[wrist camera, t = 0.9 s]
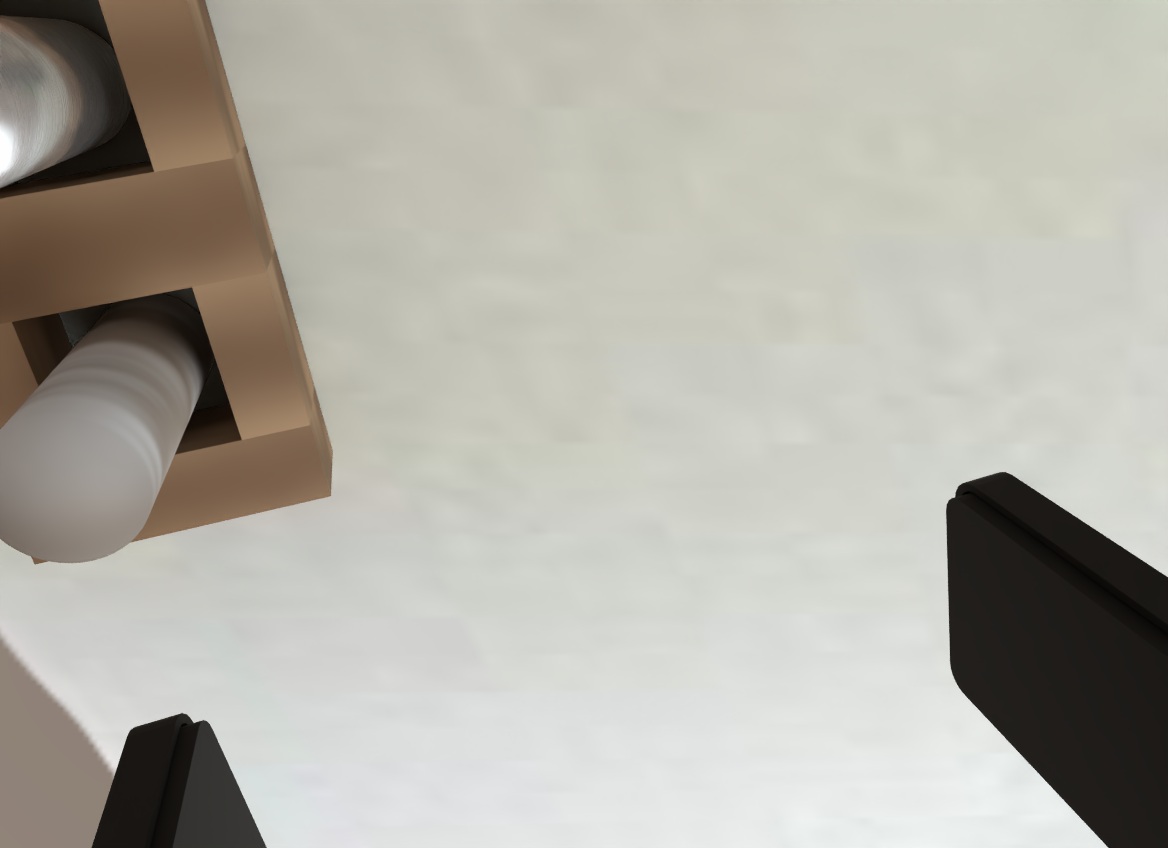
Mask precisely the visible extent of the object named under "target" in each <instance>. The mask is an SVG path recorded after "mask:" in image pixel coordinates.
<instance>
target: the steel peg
mask: <svg viewBox="0 0 1168 848" xmlns="http://www.w3.org/2000/svg"><path fill="white" fill-rule="evenodd" d="M130 107H131V99H130V95H129V92H128V89H127V86H126V83H125V80H124V77H123V74H122V71H121V68H120V65H119V62H118V59H117V56H116V53H115V51H114V50H113V49H112V48H111V47H110V45H109V44H108V43H106V42H105V41H104V40H103V39H102V38H101V37H100V36H98V35H97V34H95V33H94V32H92V31H91V30H89V29H87V28H85V27H83V26H81V25H79V24H76V23H73V22H69V21H65V20H60V19H46V18H32V17H17V16H2V15H0V188H1V187H4V186H6V185H8V184H11V183H13V182H16V181H18V180H20V179H23V178H25V177H27V176H30V175H32V174H34V173H37V172H39V171H41V170H44V169H46V168H48V167H51V166H53V165H55V164H58V163H60V162H62V161H65V160H67V159H69V158H72V157H74V156H77V155H79V154H81V153H84V152H86V151H88V150H91V149H93V148H95V147H98V146H100V145H102V144H104V143H106V142H107V141H109V140H110V139H112V138H113V137H114V136H115V135H116V134H117V133H118V132H119V131H120V130H121V128H122V127H123V125H124V124H125V122H126V120H127V118H128V115H129V111H130Z"/></svg>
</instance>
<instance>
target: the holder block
mask: <svg viewBox="0 0 1168 848" xmlns="http://www.w3.org/2000/svg"><path fill="white" fill-rule="evenodd" d="M99 3H100V6H101V10H102V13H103V16H104V19H105V22H106V25H107V28H108V31H109V34H110V37H111V40H112V43H113V46H114V49H115V53H116V56H117V59H118V62H119V65H120V68H121V71H122V74H123V77H124V80H125V83H126V86H127V89H128V92H129V95H130V99H131V102H132V105H133V108H134V111H135V114H136V117H137V120H138V123H139V126H140V129H141V132H142V135H143V138H144V141H145V145H146V148H147V151H148V154H149V157H150V160H151V161H149V162H143V163H137V164H131V165H126V166H120V167H114V168H108V169H102V170H97V171H91V172H85V173H79V174H73V175H68V176H62V177H56V178H50V179H44V180H39V181H33V182H27V183H21V184H15V185H9V186H8V185H6V186H4V187H1V188H0V539H1V540H2V541H4V542H5V543H6V544H8V545H9V546H11V547H13V548H14V549H16V550H18V551H20V552H22V553H24V554H26V555H29V556H31V557H32V559H33V562H34V564H39V563H43V562H47V561H51V562H58V563H80V562H87V561H93V560H97V559H100V558H103V557H106V556H108V555H111V554H113V553H115V552H117V551H118V550H120V549H122V548H123V547H125V546H126V545H127V544H129V543H130V542H134V541H138V540H143V539H147V538H151V537H156V536H160V535H164V534H169V533H173V532H177V531H182V530H186V529H190V528H195V527H199V526H203V525H208V524H212V523H216V522H221V521H225V520H229V519H234V518H238V517H242V516H247V515H251V514H255V513H260V512H264V511H268V510H273V509H277V508H281V507H286V506H290V505H294V504H299V503H303V502H307V501H312V500H316V499H320V498H325V497H329V496H331V478H332V455H333V451H332V447H331V444H330V440H329V437H328V433H327V430H326V426H325V423H324V419H323V416H322V412H321V408H320V405H319V401H318V398H317V394H316V391H315V387H314V384H313V380H312V377H311V373H310V370H309V366H308V363H307V359H306V356H305V352H304V348H303V345H302V341H301V338H300V334H299V331H298V327H297V324H296V320H295V317H294V313H293V310H292V306H291V303H290V299H289V296H288V292H287V288H286V285H285V281H284V278H283V274H282V271H281V267H280V264H279V260H278V257H277V253H276V250H275V246H274V243H273V239H272V236H271V232H270V228H269V225H268V221H267V218H266V214H265V211H264V207H263V204H262V200H261V197H260V193H259V190H258V186H257V183H256V179H255V176H254V172H253V168H252V165H251V161H250V158H249V154H248V151H247V147H246V144H245V140H244V137H243V133H242V130H241V126H240V123H239V119H238V116H237V112H236V108H235V105H234V101H233V98H232V94H231V91H230V87H229V84H228V80H227V77H226V73H225V70H224V66H223V63H222V59H221V56H220V52H219V48H218V45H217V41H216V38H215V34H214V31H213V27H212V24H211V20H210V17H209V13H208V10H207V6H206V3H205V0H99ZM190 287H192V289H193V292H194V295H195V298H196V301H197V304H198V307H199V310H200V313H201V316H202V317H201V316H200V315H199V314H198V313H197V312H196V311H195V310H194V309H193V308H192V307H190V306H189V305H187V304H186V303H184V302H182V301H180V300H178V299H176V298H173V297H171V296H167V295H163V294H159V293H164V292H169V291H175V290H180V289H185V288H190ZM112 302H116V303H115V304H114V305H112V306H111V307H110V308H109V309H108V310H107V311H106V312H105V313H104V314H103V315H102V316H101V318H100V319H99V320H98V321H97V322H96V323H95V324H94V325H93V327H92V328H91V329H90V330H89V331H88V332H87V333H86V334H85V335H84V337H83V338H82V339H81V340H80V341H79V342H78V343H77V344H76V346H75V347H74V348H73V349H72V347H71V344H70V342H69V339H68V337H67V334H66V332H65V329H64V327H63V324H62V321H61V319H60V316H59V314H58V313H61V312H66V311H71V310H76V309H81V308H87V307H92V306H97V305H102V304H107V303H112ZM214 356H215V359H216V362H217V365H218V368H219V371H220V375H221V378H222V381H223V384H224V387H225V390H226V393H227V396H228V399H229V402H230V404H228V405H223V406H218V407H213V408H209V409H204V410H199V411H195V412H193V410H194V408H195V405H196V403H197V401H198V398H199V396H200V393H201V391H202V389H203V386H204V384H205V382H206V379H207V377H208V374H209V372H210V370H211V367H212V364H213V360H214Z"/></svg>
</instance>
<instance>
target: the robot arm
mask: <svg viewBox="0 0 1168 848" xmlns="http://www.w3.org/2000/svg"><path fill="white" fill-rule="evenodd" d="M946 519H947V558H948V596H949V634H950V664H951V670H952V673H953V676H954V679H955V681H956V683H957V685H958V686H959V688H960V689H961V691H962V692H963V693H964V694H965V696H966V697H967V698H968V699H969V700H970V701H971V702H972V703H973V704H974V705H975V706H976V707H977V708H978V709H979V710H980V711H981V713H982V714H983V715H984V716H985V717H986V718H987V719H988V720H989V721H990V722H991V723H992V724H993V725H994V726H995V727H996V728H997V730H998V731H999V732H1000V733H1001V734H1002V735H1003V736H1004V737H1005V738H1006V739H1007V740H1008V741H1009V742H1010V743H1011V744H1012V746H1013V747H1014V748H1015V749H1016V750H1017V751H1018V752H1019V753H1020V754H1021V755H1022V756H1023V757H1024V758H1025V759H1026V760H1027V761H1028V763H1029V764H1030V765H1031V766H1032V767H1033V768H1034V769H1035V770H1036V771H1037V772H1038V773H1039V774H1040V775H1041V776H1042V777H1043V778H1044V780H1045V781H1046V782H1047V783H1048V784H1049V785H1050V786H1051V787H1052V788H1053V789H1054V790H1055V791H1056V792H1057V793H1058V794H1059V796H1060V797H1061V798H1062V799H1063V800H1064V801H1065V802H1066V803H1067V804H1068V805H1069V806H1070V807H1071V808H1072V809H1073V810H1074V811H1075V813H1076V814H1077V815H1078V816H1079V817H1080V818H1081V819H1082V820H1083V821H1084V822H1085V823H1086V824H1087V825H1088V826H1089V827H1090V829H1091V830H1092V831H1093V832H1094V833H1095V834H1096V835H1097V836H1098V837H1099V838H1100V839H1101V840H1102V841H1103V842H1104V843H1105V844H1106V846H1107V847H1108V848H1168V577H1167V576H1165V575H1163V574H1162V573H1160V572H1159V571H1157V570H1156V569H1154V568H1153V567H1151V566H1150V565H1148V564H1147V563H1145V562H1144V561H1142V560H1141V559H1139V558H1138V557H1136V556H1135V555H1133V554H1131V553H1130V552H1128V551H1127V550H1125V549H1124V548H1122V547H1121V546H1119V545H1118V544H1116V543H1115V542H1113V541H1112V540H1110V539H1109V538H1107V537H1106V536H1104V535H1103V534H1101V533H1099V532H1098V531H1096V530H1095V529H1093V528H1092V527H1090V526H1089V525H1087V524H1086V523H1084V522H1083V521H1081V520H1080V519H1078V518H1077V517H1075V516H1074V515H1072V514H1071V513H1069V512H1067V511H1066V510H1064V509H1063V508H1061V507H1060V506H1058V505H1057V504H1055V503H1054V502H1052V501H1051V500H1049V499H1048V498H1046V497H1045V496H1043V495H1042V494H1040V493H1039V492H1037V491H1035V490H1034V489H1032V488H1031V487H1029V486H1028V485H1026V484H1025V483H1023V482H1022V481H1020V480H1019V479H1017V478H1016V477H1014V476H1013V475H1011V474H1008V473H1006V472H1000V473H996V474H993V475H989V476H986V477H983V478H979V479H976V480H972V481H969V482H966V483H962V484H961V485H960V486H958V489H957V491H956V495H955V498H952V499H950V500H949V501H948V503H947V509H946ZM92 848H266V845H265V843H264V841H263V839H262V837H261V834H260V832H259V830H258V828H257V826H256V824H255V821H254V819H253V817H252V815H251V813H250V810H249V808H248V806H247V804H246V802H245V799H244V797H243V795H242V793H241V791H240V788H239V786H238V784H237V782H236V780H235V778H234V775H233V773H232V771H231V769H230V767H229V764H228V762H227V760H226V758H225V756H224V753H223V751H222V749H221V747H220V745H219V743H218V740H217V738H216V736H215V734H214V732H213V729H212V728H211V726H210V724H209V723H208V722H207V721H204V720H203V721H199V722H196V723H193V721H192V720H191V718H190V717H189V716H188V715H187V714H183V713H181V714H178V715H175V716H171V717H168V718H165V719H161V720H158V721H154V722H151V723H148V724H144V725H141V726H137V727H134V728H133V729H131V730H130V732H129V734H128V736H127V739H126V742H125V745H124V748H123V751H122V754H121V758H120V761H119V764H118V767H117V770H116V773H115V776H114V779H113V783H112V786H111V789H110V792H109V795H108V798H107V801H106V805H105V808H104V811H103V814H102V817H101V820H100V823H99V826H98V829H97V833H96V836H95V839H94V842H93V845H92Z"/></svg>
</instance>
